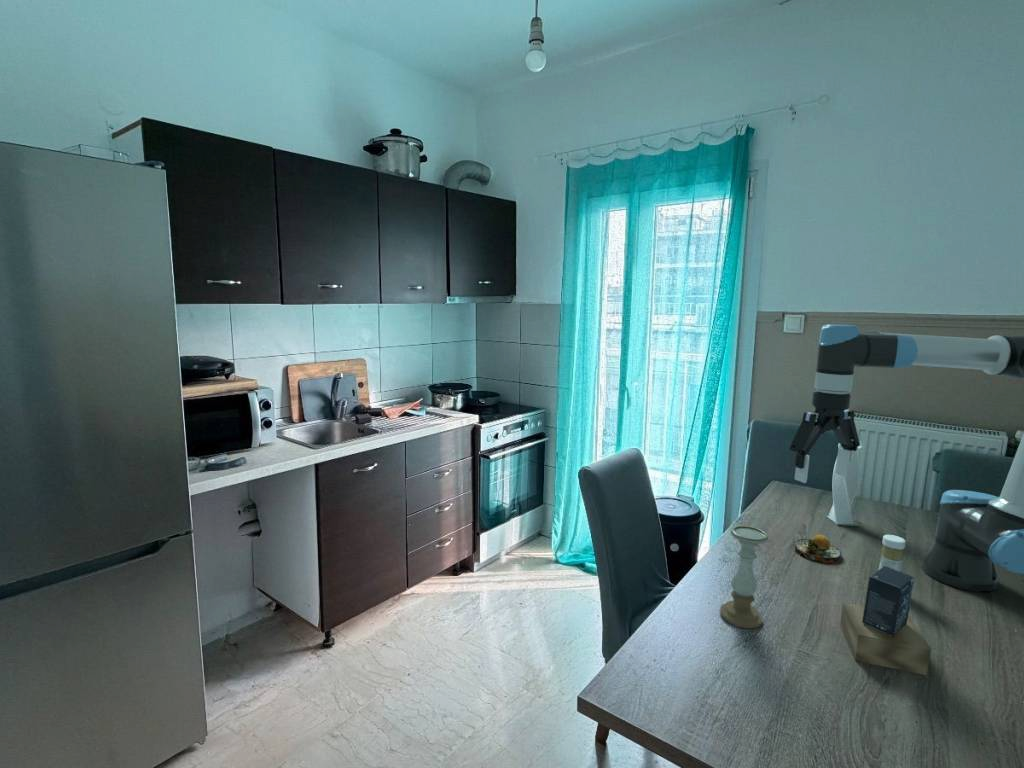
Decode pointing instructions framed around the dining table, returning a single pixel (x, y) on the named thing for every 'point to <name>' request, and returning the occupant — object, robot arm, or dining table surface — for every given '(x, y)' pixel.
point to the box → (888, 600)
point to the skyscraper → (845, 491)
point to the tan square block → (884, 643)
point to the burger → (818, 549)
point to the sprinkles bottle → (892, 552)
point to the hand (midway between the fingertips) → (821, 478)
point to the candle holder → (744, 580)
